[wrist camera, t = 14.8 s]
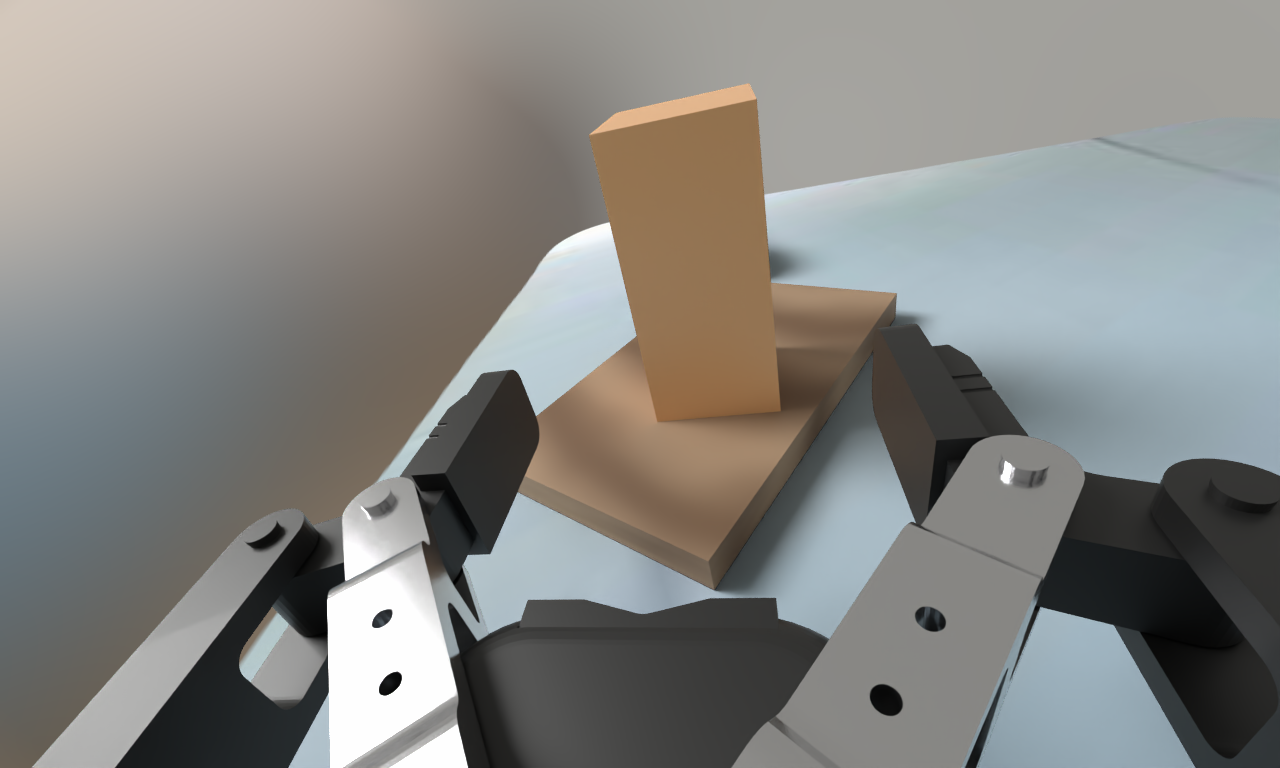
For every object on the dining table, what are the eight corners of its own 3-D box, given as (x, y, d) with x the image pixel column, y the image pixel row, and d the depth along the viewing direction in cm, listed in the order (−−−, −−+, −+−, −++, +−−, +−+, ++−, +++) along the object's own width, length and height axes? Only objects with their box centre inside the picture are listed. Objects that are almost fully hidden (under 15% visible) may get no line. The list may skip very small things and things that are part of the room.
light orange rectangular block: (667, 359, 28) (616, 112, 22) (771, 347, 27) (749, 83, 20) (657, 421, 24) (589, 134, 17) (780, 411, 22) (756, 98, 16)
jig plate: (712, 297, 37) (702, 224, 34) (895, 317, 30) (900, 227, 27) (496, 481, 25) (452, 391, 22) (714, 590, 18) (690, 477, 15)
